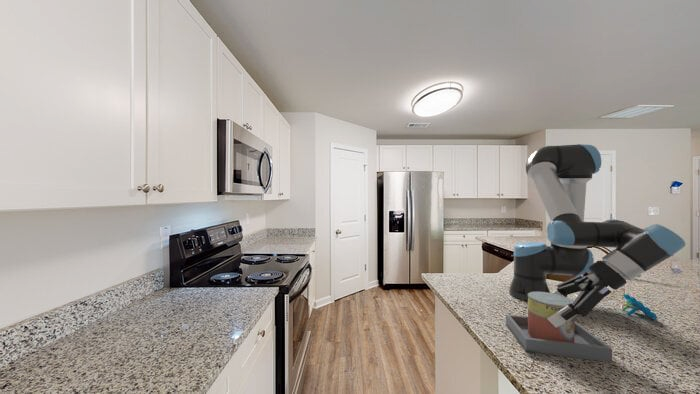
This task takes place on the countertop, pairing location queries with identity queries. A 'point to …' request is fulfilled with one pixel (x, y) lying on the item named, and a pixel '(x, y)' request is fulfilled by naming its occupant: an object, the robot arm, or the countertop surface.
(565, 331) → the canned food
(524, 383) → the countertop surface
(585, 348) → the tray
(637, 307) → the blue irregular piece
